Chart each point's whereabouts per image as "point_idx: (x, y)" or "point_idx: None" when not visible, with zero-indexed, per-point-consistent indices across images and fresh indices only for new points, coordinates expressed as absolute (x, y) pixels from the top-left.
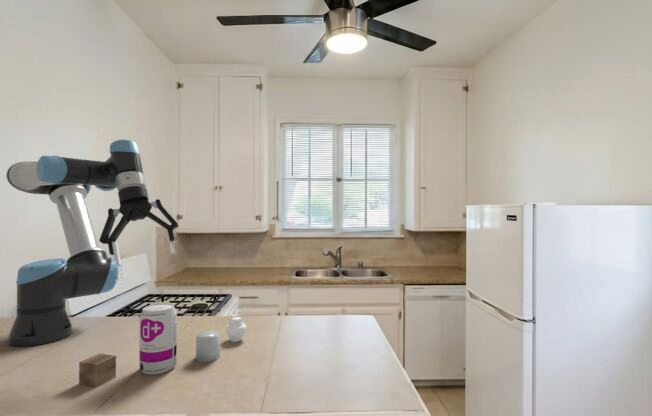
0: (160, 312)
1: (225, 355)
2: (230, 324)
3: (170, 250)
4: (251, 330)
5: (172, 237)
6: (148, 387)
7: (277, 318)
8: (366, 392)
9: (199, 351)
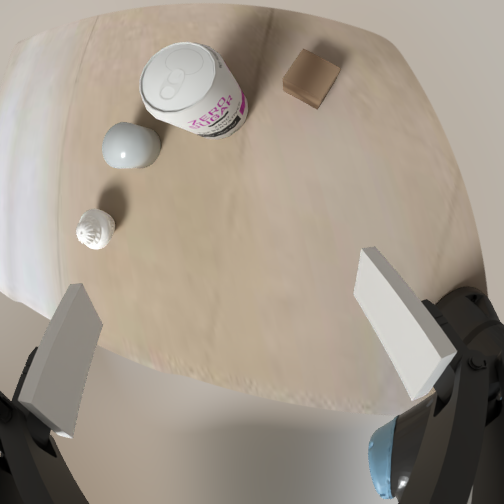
0: (168, 47)
1: None
2: (95, 223)
3: (73, 288)
4: (92, 269)
5: (32, 359)
6: (219, 49)
7: None
8: (25, 60)
9: (145, 128)
